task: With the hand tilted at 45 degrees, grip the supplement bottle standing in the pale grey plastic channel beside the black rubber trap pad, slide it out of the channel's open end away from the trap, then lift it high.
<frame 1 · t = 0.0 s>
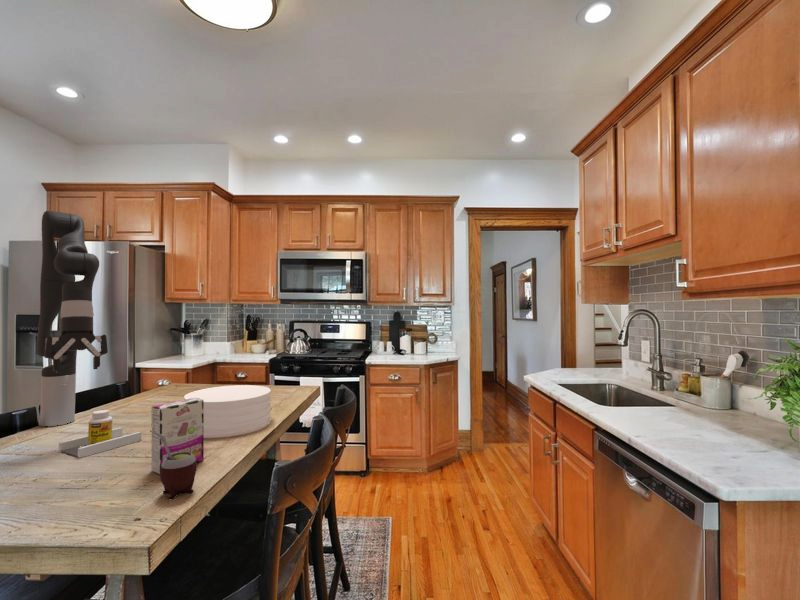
hand: (77, 370, 113), 22 cm above the table, tool pointing down, fingers open, 8 cm apart
mate gourd: (176, 494, 83), on the table
trap channel: (105, 444, 114), on the table
plate stack: (228, 425, 134), on the table
supplement bottle: (100, 446, 113), resting in trap channel
candy bar box: (177, 466, 98), on the table
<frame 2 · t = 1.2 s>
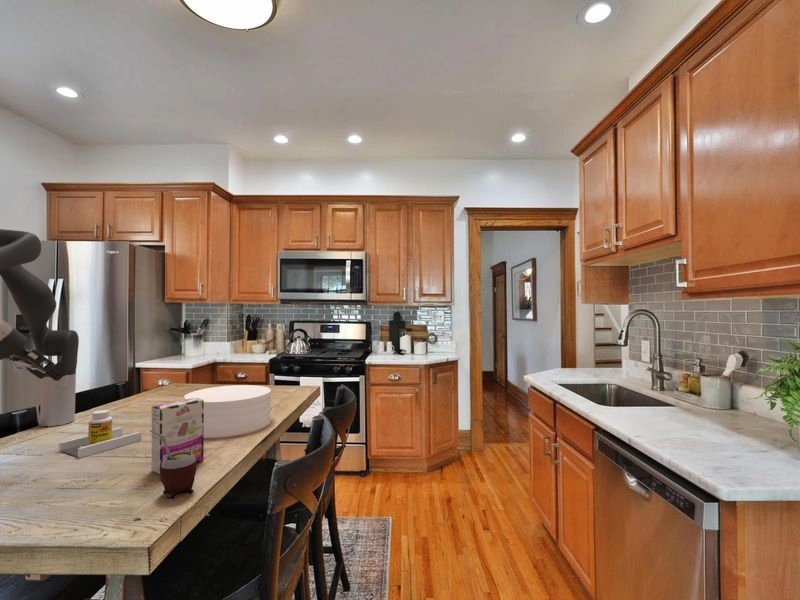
hand: (52, 377, 103), 22 cm above the table, tool tilted 45°, fingers open, 8 cm apart
nothing on the table moved.
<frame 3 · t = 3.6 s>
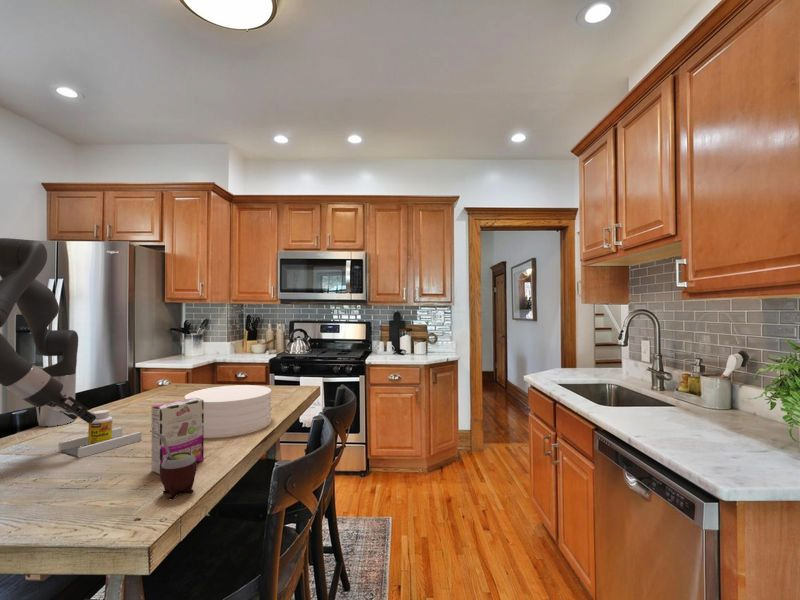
hand: (85, 418, 109), 9 cm above the table, tool tilted 45°, fingers open, 8 cm apart
nothing on the table moved.
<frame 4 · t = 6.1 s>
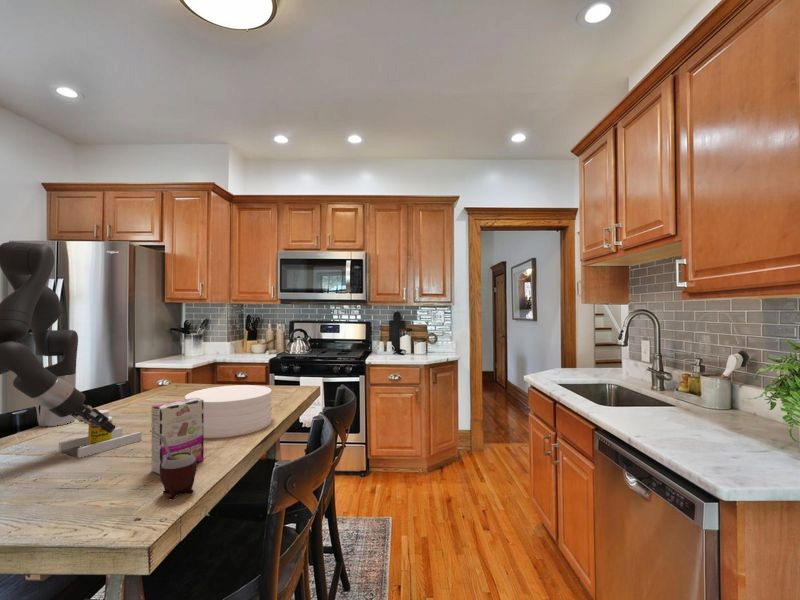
hand: (106, 428, 114), 5 cm above the table, tool tilted 45°, fingers closed on supplement bottle, 5 cm apart
supplement bottle: (100, 446, 113), resting in trap channel, touching gripper
everything else where it was.
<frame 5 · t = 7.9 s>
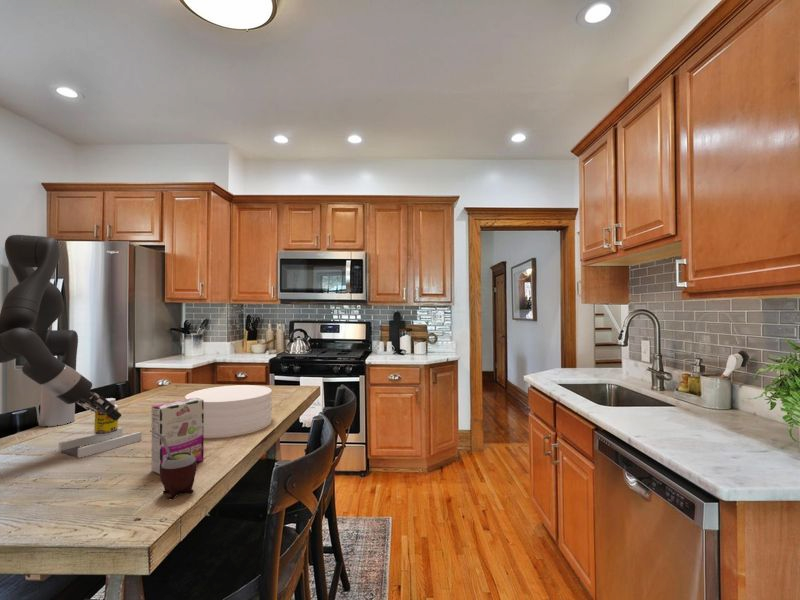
hand: (112, 416, 116), 8 cm above the table, tool tilted 45°, fingers closed on supplement bottle, 5 cm apart
supplement bottle: (106, 434, 114), point 3 cm above the table, touching gripper
everything else where it was.
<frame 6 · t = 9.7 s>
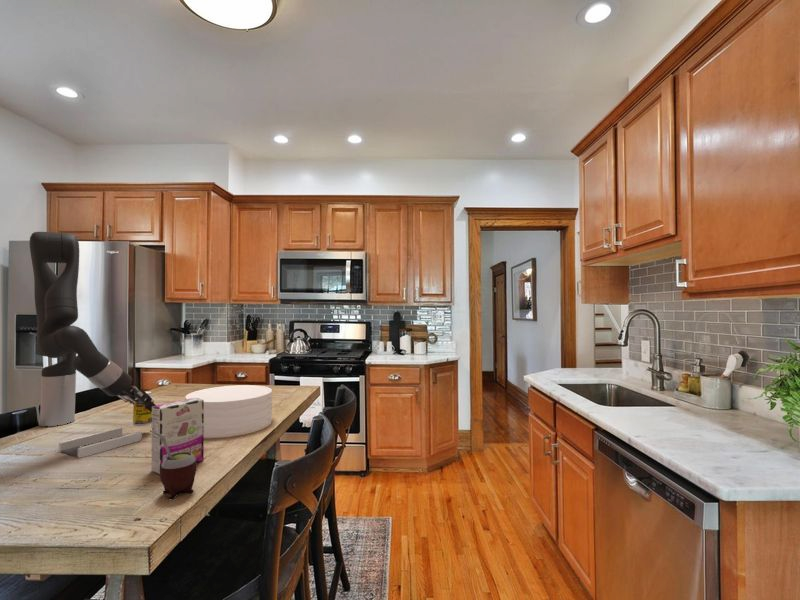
hand: (148, 408, 126), 8 cm above the table, tool tilted 45°, fingers closed on supplement bottle, 5 cm apart
supplement bottle: (143, 424, 124), point 3 cm above the table, touching gripper
everything else where it was.
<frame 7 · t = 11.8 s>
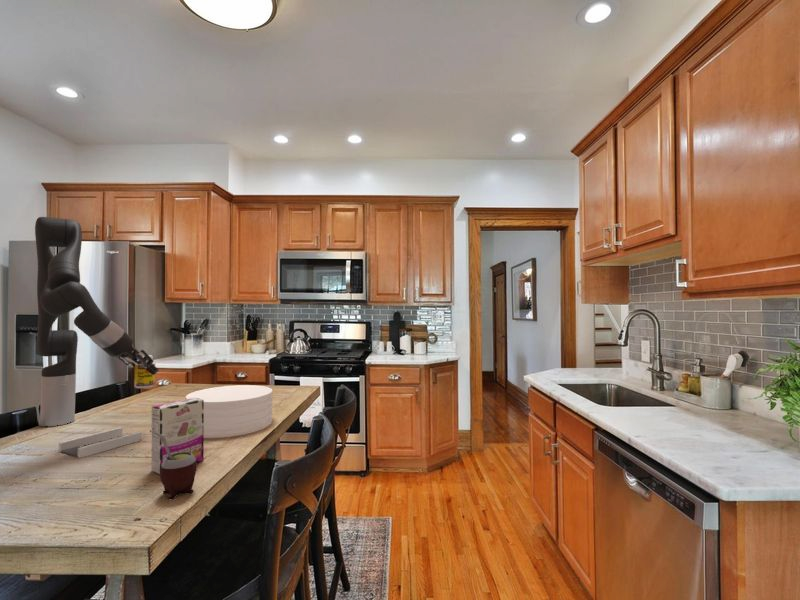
hand: (150, 371, 126), 20 cm above the table, tool tilted 45°, fingers closed on supplement bottle, 5 cm apart
supplement bottle: (144, 387, 124), point 15 cm above the table, touching gripper
everything else where it was.
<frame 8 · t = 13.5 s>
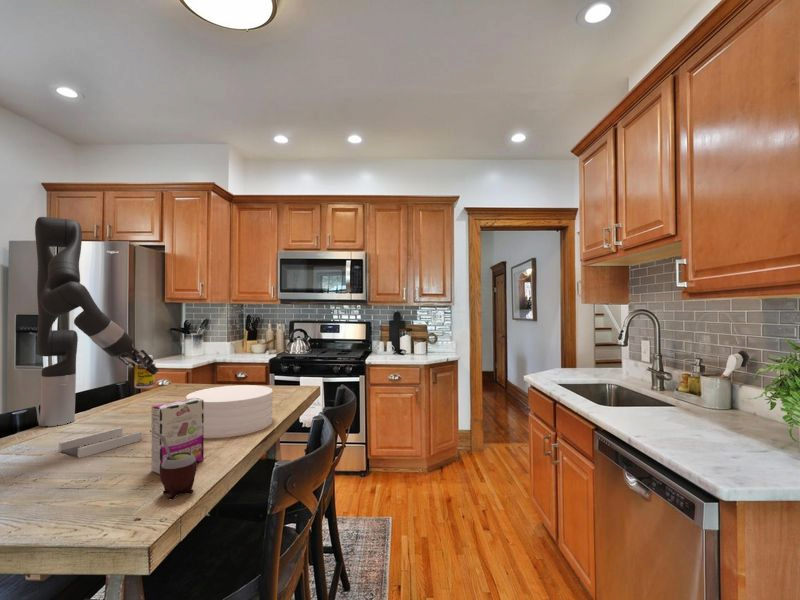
hand: (150, 371, 126), 20 cm above the table, tool tilted 45°, fingers closed on supplement bottle, 5 cm apart
supplement bottle: (144, 387, 124), point 15 cm above the table, touching gripper
everything else where it was.
at the end: the gripper is holding supplement bottle; supplement bottle point 15.1 cm above the table; supplement bottle inside the target area (0.3 cm from its centre), point 15.1 cm above the table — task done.
